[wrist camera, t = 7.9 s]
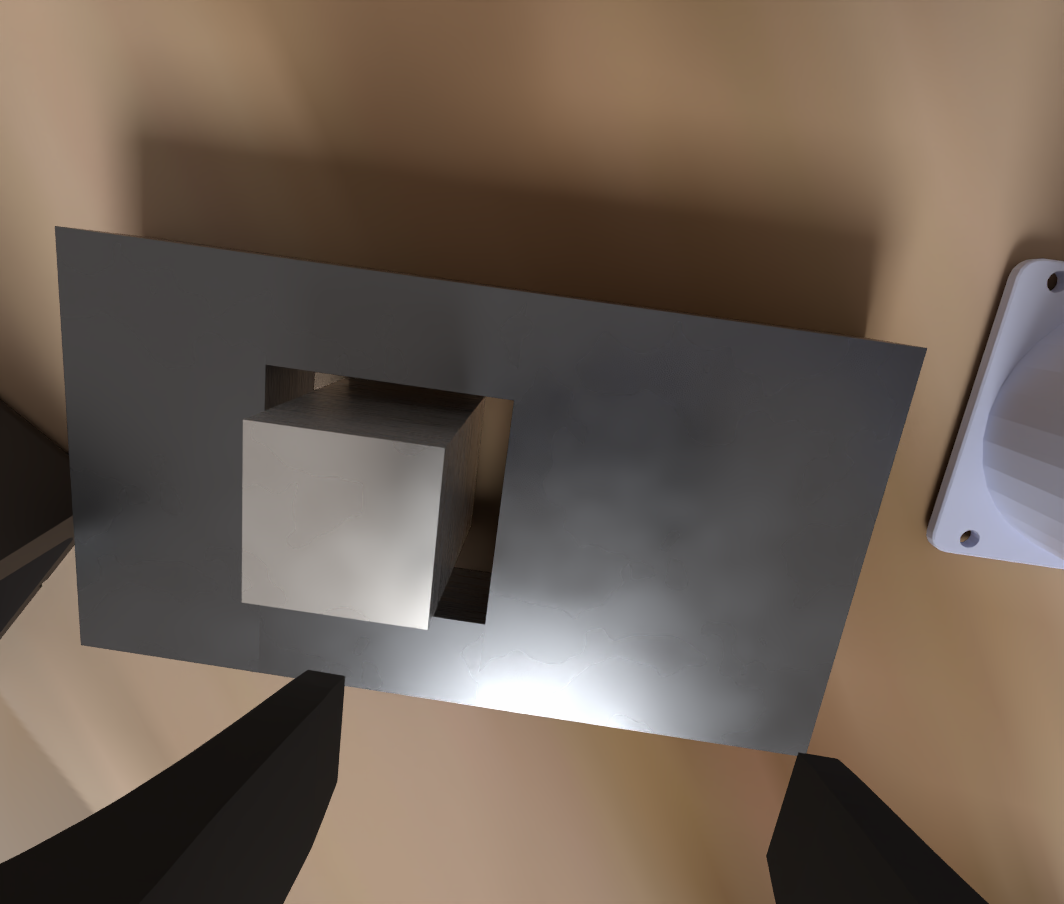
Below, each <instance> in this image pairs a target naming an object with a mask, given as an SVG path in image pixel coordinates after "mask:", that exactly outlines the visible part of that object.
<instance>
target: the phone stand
mask: <svg viewBox="0 0 1064 904" xmlns="http://www.w3.org/2000/svg"><path fill="white" fill-rule="evenodd" d="M74 545H75V541H74V525H73V509H72V493H71V477H70V461H69V455H68V454H67V453H65V452H64V451H63V450H62V449H60V448H59V447H58V446H57V445H56V444H54V443H53V442H52V441H51V440H49V439H48V438H47V437H46V436H44V435H43V434H42V433H41V432H40V431H38V430H37V429H36V428H35V427H33V426H32V425H31V424H30V423H28V422H27V421H26V420H25V419H24V418H22V417H21V416H20V415H19V414H17V413H16V412H15V411H14V410H13V409H11V408H10V407H9V406H8V405H6V404H5V403H4V402H3V401H1V400H0V639H1V638H2V636H3V635H4V634H5V633H6V631H7V630H8V629H9V628H10V626H11V625H12V624H13V622H14V621H15V620H16V619H17V617H18V616H19V615H20V614H21V612H22V611H23V610H24V608H25V607H26V606H27V605H28V603H29V602H30V601H31V600H32V598H33V597H34V596H35V594H36V593H37V592H38V591H39V589H40V588H41V587H42V586H41V584H42V583H43V582H44V581H45V580H47V579H48V578H49V577H50V575H51V574H52V573H53V572H54V570H55V569H56V568H57V566H58V565H59V564H60V563H61V561H62V560H63V559H64V558H65V556H66V555H67V554H68V552H69V551H70V550H71V549H72V547H73V546H74Z"/></svg>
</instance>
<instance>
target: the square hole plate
mask: <svg viewBox="0 0 1064 904" xmlns="http://www.w3.org/2000/svg"><path fill="white" fill-rule="evenodd" d="M55 236H56V252H57V268H58V284H59V300H60V316H61V332H62V348H63V365H64V381H65V397H66V413H67V429H68V445H69V461H70V477H71V493H72V509H73V525H74V541H75V557H76V573H77V589H78V606H79V622H80V638H81V645H84V646H91V647H97V648H104V649H110V650H117V651H123V652H130V653H136V654H143V655H149V656H156V657H162V658H168V659H175V660H181V661H188V662H194V663H201V664H207V665H214V666H220V667H227V668H233V669H240V670H246V671H252V672H259V673H265V674H272V675H278V676H285V677H291V678H296V677H298V676H299V675H301V674H302V673H304V672H305V671H307V670H314V671H319V672H325V673H331V674H337V675H343V676H345V686H349V687H356V688H362V689H369V690H375V691H382V692H388V693H395V694H401V695H407V696H414V697H420V698H427V699H433V700H440V701H446V702H453V703H459V704H466V705H472V706H479V707H485V708H491V709H498V710H504V711H511V712H517V713H524V714H530V715H537V716H543V717H550V718H556V719H563V720H569V721H575V722H582V723H588V724H595V725H601V726H608V727H614V728H621V729H627V730H634V731H640V732H646V733H653V734H659V735H666V736H672V737H679V738H685V739H692V740H698V741H705V742H711V743H718V744H724V745H730V746H737V747H743V748H750V749H756V750H763V751H769V752H776V753H782V754H789V755H795V756H797V755H798V752H800V753H806V752H807V749H808V746H809V742H810V739H811V736H812V732H813V729H814V726H815V722H816V719H817V716H818V712H819V709H820V706H821V702H822V699H823V696H824V692H825V689H826V685H827V682H828V679H829V675H830V672H831V669H832V665H833V662H834V659H835V655H836V652H837V649H838V645H839V642H840V639H841V635H842V632H843V629H844V625H845V622H846V618H847V615H848V612H849V608H850V605H851V602H852V598H853V595H854V592H855V588H856V585H857V582H858V578H859V575H860V572H861V568H862V565H863V562H864V558H865V555H866V551H867V548H868V545H869V541H870V538H871V535H872V531H873V528H874V525H875V521H876V518H877V515H878V511H879V508H880V505H881V501H882V498H883V495H884V491H885V488H886V484H887V481H888V478H889V474H890V471H891V468H892V464H893V461H894V458H895V454H896V451H897V448H898V444H899V441H900V438H901V434H902V431H903V428H904V424H905V421H906V418H907V414H908V411H909V407H910V404H911V401H912V397H913V394H914V391H915V387H916V384H917V381H918V377H919V374H920V371H921V367H922V364H923V361H924V357H925V354H926V351H927V348H923V347H917V346H911V345H905V344H899V343H893V342H888V341H882V340H876V339H870V338H864V337H857V336H850V335H842V334H835V333H828V332H821V331H814V330H807V329H800V328H792V327H785V326H778V325H771V324H764V323H757V322H750V321H742V320H735V319H728V318H721V317H714V316H707V315H700V314H692V313H685V312H678V311H671V310H664V309H657V308H650V307H642V306H635V305H628V304H621V303H614V302H607V301H600V300H592V299H585V298H578V297H571V296H564V295H557V294H550V293H543V292H535V291H528V290H521V289H514V288H507V287H500V286H493V285H485V284H478V283H471V282H464V281H457V280H450V279H443V278H435V277H428V276H421V275H414V274H407V273H400V272H393V271H385V270H378V269H371V268H364V267H357V266H350V265H343V264H335V263H328V262H321V261H314V260H307V259H300V258H293V257H285V256H278V255H271V254H264V253H257V252H250V251H243V250H235V249H228V248H221V247H214V246H207V245H200V244H193V243H185V242H178V241H171V240H164V239H157V238H150V237H143V236H134V235H126V234H118V233H109V232H101V231H92V230H84V229H76V228H67V227H59V226H55ZM314 372H320V373H327V374H334V375H341V376H348V377H355V378H362V379H369V380H376V381H383V382H390V383H397V384H404V385H411V386H417V387H424V388H431V389H438V390H445V391H452V392H459V393H466V394H473V395H480V396H487V397H494V398H501V399H508V400H514V405H513V413H512V421H511V428H510V436H509V444H508V452H507V459H506V467H505V475H504V483H503V490H502V498H501V506H500V514H499V521H498V529H497V537H496V545H495V552H494V560H493V568H492V573H489V572H482V571H476V570H469V569H462V568H456V567H454V568H453V570H452V572H451V575H450V577H449V580H448V582H447V584H446V587H445V589H444V592H443V594H442V596H441V599H440V601H439V604H438V606H437V608H436V611H435V613H434V616H433V618H432V620H431V623H430V625H429V628H428V630H425V629H418V628H411V627H404V626H397V625H391V624H384V623H377V622H370V621H364V620H357V619H350V618H343V617H337V616H330V615H323V614H316V613H310V612H303V611H296V610H289V609H283V608H276V607H269V606H262V605H255V604H249V603H242V482H243V419H246V418H248V417H251V416H253V415H255V414H258V413H260V412H263V411H265V410H268V409H270V408H273V407H275V406H278V405H280V404H283V403H285V402H287V401H290V400H292V399H295V398H297V397H300V396H302V395H305V394H307V393H310V392H312V391H313V387H314Z"/></svg>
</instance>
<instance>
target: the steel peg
mask: <svg viewBox="0 0 1064 904" xmlns="http://www.w3.org/2000/svg"><path fill="white" fill-rule="evenodd" d="M484 405H485V396H480V395H473V394H466V393H459V392H452V391H445V390H438V389H431V388H424V387H417V386H411V385H404V384H397V383H390V382H382V381H375V380H368V379H361V378H353V377H346V378H344V379H342V380H339V381H337V382H334V383H332V384H329V385H327V386H324V387H322V388H319V389H317V390H314V391H312V392H310V393H307V394H305V395H302V396H300V397H297V398H295V399H292V400H290V401H287V402H285V403H283V404H280V405H278V406H275V407H273V408H270V409H268V410H265V411H263V412H260V413H258V414H255V415H253V416H251V417H248V418H246V419H243V482H242V603H249V604H255V605H262V606H269V607H276V608H283V609H289V610H296V611H303V612H310V613H316V614H323V615H330V616H337V617H343V618H350V619H357V620H364V621H370V622H377V623H384V624H391V625H397V626H404V627H411V628H418V629H425V630H428V628H429V625H430V623H431V620H432V618H433V616H434V613H435V611H436V608H437V606H438V604H439V601H440V599H441V596H442V594H443V592H444V589H445V587H446V584H447V582H448V580H449V577H450V575H451V572H452V570H453V568H454V565H455V563H456V560H457V558H458V556H459V553H460V551H461V548H462V546H463V544H464V541H465V539H466V536H467V534H468V532H469V529H470V527H471V523H472V514H473V505H474V495H475V486H476V477H477V468H478V459H479V450H480V441H481V432H482V423H483V414H484Z"/></svg>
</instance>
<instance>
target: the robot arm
mask: <svg viewBox="0 0 1064 904" xmlns="http://www.w3.org/2000/svg"><path fill="white" fill-rule="evenodd" d="M1053 273H1055V274H1056V276H1057V284H1056V286H1055V287H1054V289H1052V290H1051V291H1049V289H1048V287H1047V280H1048V279H1049V277H1050V275H1051V274H1053ZM968 530H971V535H970V537H969V538H968V539H967V540H965V541H964V542H960V537H961V535H962V534H963V533H964V532H966V531H968ZM926 536H927V538H928V541H929V542H930V543H931V544H932V545H933V546H934V547H936V548H937V549H939V550H941V551H944V552H949V553H956V554H963V555H970V556H976V557H983V558H990V559H997V560H1004V561H1010V562H1017V563H1024V564H1031V565H1038V566H1044V567H1051V568H1058V569H1064V261H1058V260H1051V259H1044V258H1043V259H1027V260H1025V261H1022V262H1020V263H1018V264H1017V265H1016V266H1015V267H1014V268H1013V269H1012V271H1011V273H1010V275H1009V277H1008V280H1007V283H1006V286H1005V289H1004V292H1003V295H1002V298H1001V302H1000V305H999V308H998V311H997V314H996V317H995V320H994V323H993V326H992V329H991V333H990V336H989V339H988V342H987V345H986V348H985V351H984V354H983V357H982V360H981V363H980V367H979V370H978V373H977V376H976V379H975V382H974V385H973V388H972V391H971V394H970V398H969V401H968V404H967V407H966V410H965V413H964V416H963V419H962V422H961V425H960V429H959V432H958V435H957V438H956V441H955V444H954V447H953V450H952V453H951V456H950V460H949V463H948V466H947V469H946V472H945V475H944V478H943V481H942V484H941V487H940V490H939V494H938V497H937V500H936V503H935V506H934V509H933V512H932V515H931V518H930V521H929V525H928V528H927V534H926ZM344 686H345V676H343V675H337V674H331V673H325V672H319V671H314V670H307V671H305V672H304V673H302V674H301V675H299V676H298V677H296V678H295V679H294V680H292V681H291V682H289V683H288V684H287V685H285V686H284V687H282V688H281V689H280V690H278V691H277V692H276V693H274V694H273V695H272V696H270V697H269V698H267V699H266V700H265V701H263V702H262V703H261V704H259V705H258V706H257V707H255V708H254V709H252V710H251V711H250V712H248V713H247V714H246V715H244V716H243V717H241V718H240V719H239V720H237V721H236V722H234V723H233V724H232V725H230V726H229V727H227V728H226V729H224V730H223V731H222V732H220V733H219V734H217V735H216V736H214V737H213V738H212V739H210V740H209V741H207V742H206V743H204V744H203V745H202V746H200V747H199V748H197V749H196V750H194V751H193V752H191V753H190V754H189V755H187V756H186V757H184V758H183V759H181V760H180V761H178V762H176V763H175V764H173V765H172V766H170V767H169V768H167V769H166V770H164V771H162V772H161V773H159V774H158V775H156V776H155V777H153V778H151V779H150V780H148V781H147V782H145V783H144V784H142V785H141V786H139V787H137V788H136V789H134V790H133V791H131V792H130V793H128V794H126V795H125V796H123V797H122V798H120V799H118V800H117V801H115V802H113V803H112V804H110V805H108V806H106V807H105V808H103V809H101V810H100V811H98V812H96V813H94V814H93V815H91V816H89V817H87V818H86V819H84V820H82V821H80V822H78V823H77V824H75V825H73V826H71V827H69V828H68V829H66V830H64V831H62V832H60V833H58V834H57V835H55V836H53V837H51V838H49V839H47V840H45V841H44V842H42V843H40V844H38V845H36V846H35V847H33V848H31V849H29V850H27V851H25V852H23V853H21V854H20V855H17V856H15V857H13V858H11V859H9V860H7V861H5V862H3V863H1V864H0V904H283V903H284V901H285V899H286V897H287V895H288V893H289V891H290V889H291V887H292V885H293V883H294V881H295V880H296V878H297V876H298V874H299V872H300V870H301V868H302V866H303V864H304V862H305V860H306V858H307V856H308V854H309V852H310V850H311V848H312V845H313V843H314V840H315V838H316V835H317V833H318V830H319V828H320V825H321V823H322V820H323V818H324V815H325V812H326V810H327V807H328V805H329V802H330V799H331V797H332V794H333V791H334V789H335V786H336V783H337V778H338V765H339V752H340V739H341V725H342V712H343V699H344ZM766 857H767V862H768V867H769V872H770V877H771V882H772V887H773V892H774V897H775V901H776V904H989V903H987V902H986V901H985V900H984V899H983V898H982V897H981V896H980V895H979V894H978V893H977V892H976V891H975V890H974V889H973V888H971V887H970V886H969V885H968V884H967V883H966V882H965V881H964V880H963V879H962V878H961V877H960V876H959V875H958V874H957V873H956V872H955V871H954V870H953V869H952V868H951V867H950V866H948V865H947V864H946V863H945V862H944V861H943V860H942V859H941V858H940V857H939V856H938V855H937V854H936V853H935V852H934V851H933V850H932V849H931V848H930V847H929V846H928V845H927V844H926V843H925V842H924V841H923V840H922V839H921V838H920V837H919V836H918V835H917V834H916V833H915V832H914V831H913V830H912V829H911V828H909V827H908V826H907V825H906V824H905V823H904V822H903V821H902V820H901V819H900V818H899V817H898V816H897V815H896V814H895V813H894V812H893V811H892V810H891V809H890V808H889V807H888V806H887V805H886V804H885V803H884V802H883V801H882V800H881V799H880V798H879V797H878V796H877V795H876V794H875V793H874V792H873V791H872V790H871V789H870V788H869V787H868V786H867V785H866V784H865V783H864V782H862V781H861V780H860V779H859V778H858V777H857V776H856V775H855V774H854V773H853V772H852V771H851V770H850V769H849V768H847V767H846V766H845V765H844V764H843V763H842V762H841V761H840V760H838V759H835V758H829V757H823V756H817V755H811V754H806V753H800V752H798V755H797V759H796V762H795V765H794V768H793V771H792V775H791V778H790V781H789V784H788V788H787V791H786V794H785V797H784V801H783V804H782V807H781V810H780V813H779V817H778V820H777V823H776V826H775V830H774V833H773V836H772V839H771V842H770V846H769V849H768V852H767V855H766Z"/></svg>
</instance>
